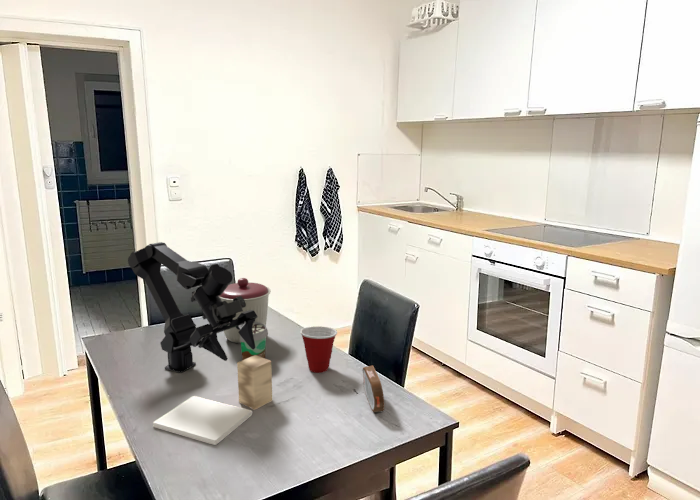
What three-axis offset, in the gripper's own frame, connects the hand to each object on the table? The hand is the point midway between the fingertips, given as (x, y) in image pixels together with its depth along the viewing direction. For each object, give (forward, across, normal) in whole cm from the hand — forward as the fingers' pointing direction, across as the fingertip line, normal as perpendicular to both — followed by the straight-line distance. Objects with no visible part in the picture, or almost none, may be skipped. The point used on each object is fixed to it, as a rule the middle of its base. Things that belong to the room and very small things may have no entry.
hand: (240, 354), depth 132 cm
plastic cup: (+12, +25, +5) cm, 28 cm away
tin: (+29, +18, -12) cm, 36 cm away
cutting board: (+10, -14, +6) cm, 18 cm away
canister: (-13, +27, +30) cm, 43 cm away
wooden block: (+12, 0, +5) cm, 13 cm away
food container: (-2, +18, +18) cm, 26 cm away
